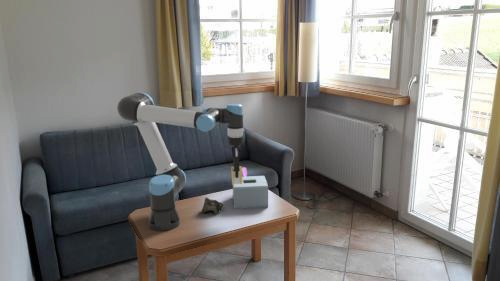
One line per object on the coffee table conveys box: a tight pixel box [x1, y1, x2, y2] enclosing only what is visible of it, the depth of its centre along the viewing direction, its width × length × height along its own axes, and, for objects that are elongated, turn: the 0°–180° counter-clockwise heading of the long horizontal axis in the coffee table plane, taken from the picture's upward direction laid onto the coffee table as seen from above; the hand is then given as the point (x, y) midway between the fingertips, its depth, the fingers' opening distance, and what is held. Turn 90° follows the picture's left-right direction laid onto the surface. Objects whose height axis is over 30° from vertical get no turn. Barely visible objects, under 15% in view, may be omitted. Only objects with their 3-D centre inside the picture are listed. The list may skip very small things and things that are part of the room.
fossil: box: [201, 197, 224, 215], centre depth 213 cm, size 11×9×10 cm
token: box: [231, 165, 243, 185], centre depth 202 cm, size 5×3×8 cm, turn 95°
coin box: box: [232, 175, 269, 209], centre depth 224 cm, size 18×16×12 cm
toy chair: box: [242, 166, 248, 177], centre depth 237 cm, size 8×9×15 cm
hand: (236, 181), depth 203 cm, fingers closed on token, 3 cm apart
